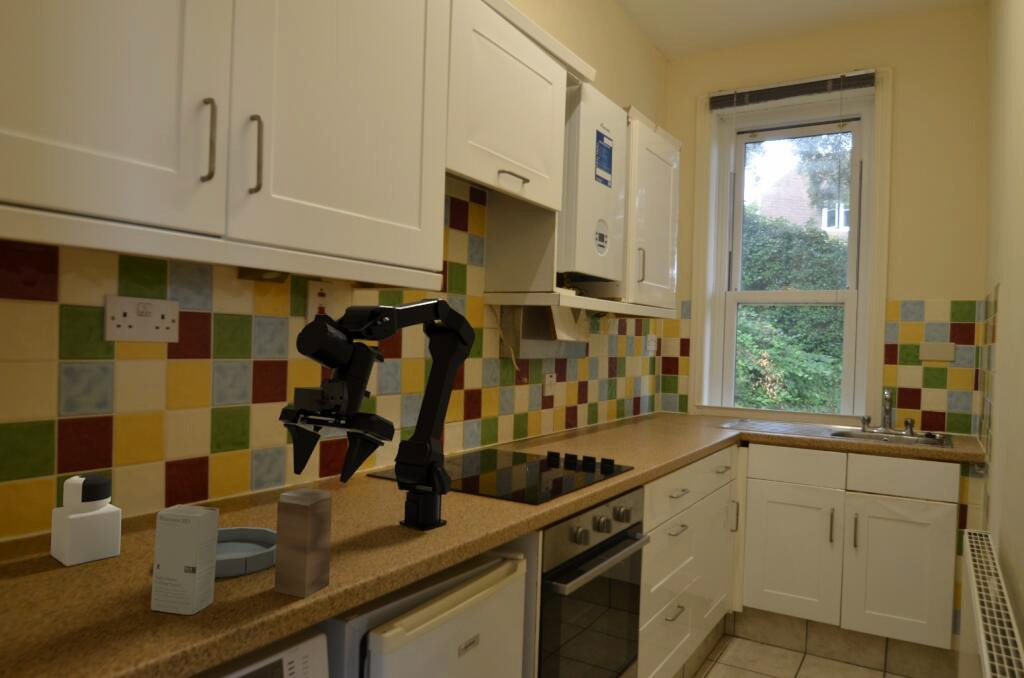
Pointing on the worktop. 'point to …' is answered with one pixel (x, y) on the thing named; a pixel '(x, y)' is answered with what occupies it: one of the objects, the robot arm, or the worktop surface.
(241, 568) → the slate dish
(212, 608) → the worktop surface
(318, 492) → the walnut block
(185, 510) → the skincare box
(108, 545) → the medicine bottle
